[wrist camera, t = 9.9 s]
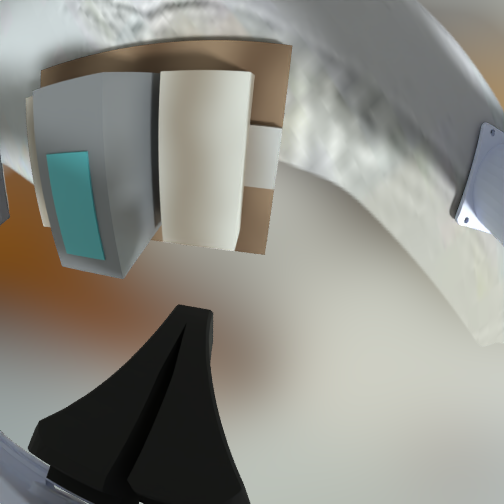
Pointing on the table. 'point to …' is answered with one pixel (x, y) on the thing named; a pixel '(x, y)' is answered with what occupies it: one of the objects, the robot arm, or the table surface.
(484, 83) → the table surface
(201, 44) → the rail board
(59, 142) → the block
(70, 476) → the robot arm
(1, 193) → the disk drive
